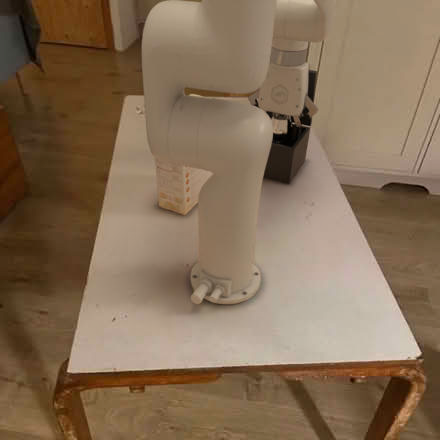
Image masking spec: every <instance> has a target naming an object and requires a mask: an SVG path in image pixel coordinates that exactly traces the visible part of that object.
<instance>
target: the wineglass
mask: <svg viewBox="0 0 440 440" xmlns="http://www.w3.org/2000/svg"><path fill="white" fill-rule="evenodd" d="M270 119H271V121H272V125H273V139H272V142H274V143H277V144H280V143H284V142H286V141H287V140H288V139H289V138H290V136H291V133H292V124H293V123H292V119H291V116H289V115H284V114H279V113H272V114H271V116H270Z"/></svg>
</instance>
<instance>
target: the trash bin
mask: <svg viewBox="0 0 440 440" xmlns="http://www.w3.org/2000/svg"><path fill="white" fill-rule="evenodd" d="M294 125H295V123H292V131H293V126H294ZM310 134H311V126H306V125H302V127H301V134H300V137H299V139H297V140H296V141H295V142H294V143H292V142H291V138H292V133H291V136H290V138H289V139H288V140H287V141H286V142H284V143H280V144H277V143H274V142H272V144H271V148H270V152H269V156H268V159H267V163H266V167H265V171H264V176H263V179H266V180H271V181H275V182H279V183H283V184H287V185H290V184H291V182H292V181H293V179H294V178H295V176H296V175H297V174H298V172H299V170H300V169H301V168H302V166H303V165H304V163H305V162H306V157H307V152H308V147H309V146H308V145H309V139H310Z"/></svg>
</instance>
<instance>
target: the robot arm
mask: <svg viewBox="0 0 440 440" xmlns="http://www.w3.org/2000/svg"><path fill="white" fill-rule="evenodd" d="M200 1H201V2H198V1H190V0H163V1H160V2H158V3H156V4H155V5H154V6H153V7H152V8H151V10H150V11H149V13H148V15H147V17H146V19H145V22H144V26H143V30H142V36H141V37H142V38H141V70H142V71H141V72H142V84H143V85H142V87H143V101H144V116H145V117H144V118H145V129H146V140H147V144H148V148H149V150H150V152H151V154H152V156H154V158H155V157H156V158H157V159H158V160H160V161H162V162H166V163H170V164H175V165H180V166H185V167H191V168H197V169H202V170H205V171H210V172H213V173H214V174H213V175H212V176H210V177H209V178H208V180H207V181H206V182H205V183H204V185H203V186H202V188H201V190H200V192H199V196H198V203H197V217H198V218H197V222H198V223H197V224H198V228H197V230H198V261H197V262H196V263H195V264H194V265H193V267H192V269H191V271H190V285H191V287H192V289H193V292H192V294H191V295H190V300H191V302H193V303H194V304H196V305H199V304H201V303H202V302H203V300H206V301H208V302H211V303H214V304H219V305H235V304H238V303H242V302H245V301H247V300H249V299H251V297H254V295H255V294H256V293H257V292H258V291H259V289H260V286H261V282H262V281H261V279H262V278H261V277H262V275H261V271H260V270H259V268H258V266H257V265H256V264H255V263H254V262H255V252H256V251H255V250H256V243H257V242H256V241H257V232H258V224H259V223H258V221H259V211H260V203H261V193H262V185H263V181H264V178H263V176H264V171H265V167H266V163H267V159H268V156H269V152H270V148H271V144H272V139H273V125H272V121H271V119H270V117H269V116H268V114H267V111H269V112H274V113H279V114H284V115H289V116H293V118H294V121H295V123H294V124H295V125H294V126H293V131H292V138H291V142H292V143H294V142H295V141H296V140H297V139H299V137H300V134H301V127H302V126H303V125H302V124H303V123H305V122H306V121H308V120H309V119H310V118H311V117H312V118H313V117H314V116H315V115H316V114H317V113H318V112H319V108H318V106H317V105H316V103H315V102H314V103H313V102H312V101H311V99H310V98H309V97H308V96H307V94H308V64H309V63H308V62H306V61H307V54H308V49H309V48H308V47H309V43H314V44H317V43H321V42H324V41H325V40H327V38H328V37H329V36H330V34H331V33H332V29H333V26H334V24H335V18H336V11H337V0H200ZM185 88H188V89H196V90H202V91H212V92H219V93H225V94H226V93H228V94H237V95H238V94H240V95H241V94H250V95H249V96H248V97H247V100H248V102H249V103H247V102H243V101H237V100H236V101H235V100H228V99H221V98H215V97H211V98H210V97H206V98H204V97H205V96H203V97H197V96H190V94H185ZM305 106H306V107H307V108H308V109H309V112H308V113H307V114H305V115H304V116H303V113H302V110H303V109H304V108H305Z"/></svg>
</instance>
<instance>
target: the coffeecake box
mask: <svg viewBox="0 0 440 440" xmlns="http://www.w3.org/2000/svg"><path fill="white" fill-rule="evenodd" d="M189 95H190V96H197V97H204V98H207V97H206V96H202V95H200V94H195V93H190V94H189ZM154 165H155V175H156V187H157V196H158V206H159V208H162V209H164V210H168V211H172V212H174V213H177V214H180V215H183V216H186V215H188V213H189V212H190V211H191V210H192V209H193V208H194V207H195V206H196V205H198V196H199V192H200V190H201V188H202V186H203V185H204V183H205V182H206V181H207V180H208V178H209V177H210V176H212V175H213V174H214V173H213V172H210V171H205V170H202V169H197V168H191V167H185V166H180V165H175V164H170V163H166V162H162V161H160V160H158V159H157V158H156V157H155V156H154Z"/></svg>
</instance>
